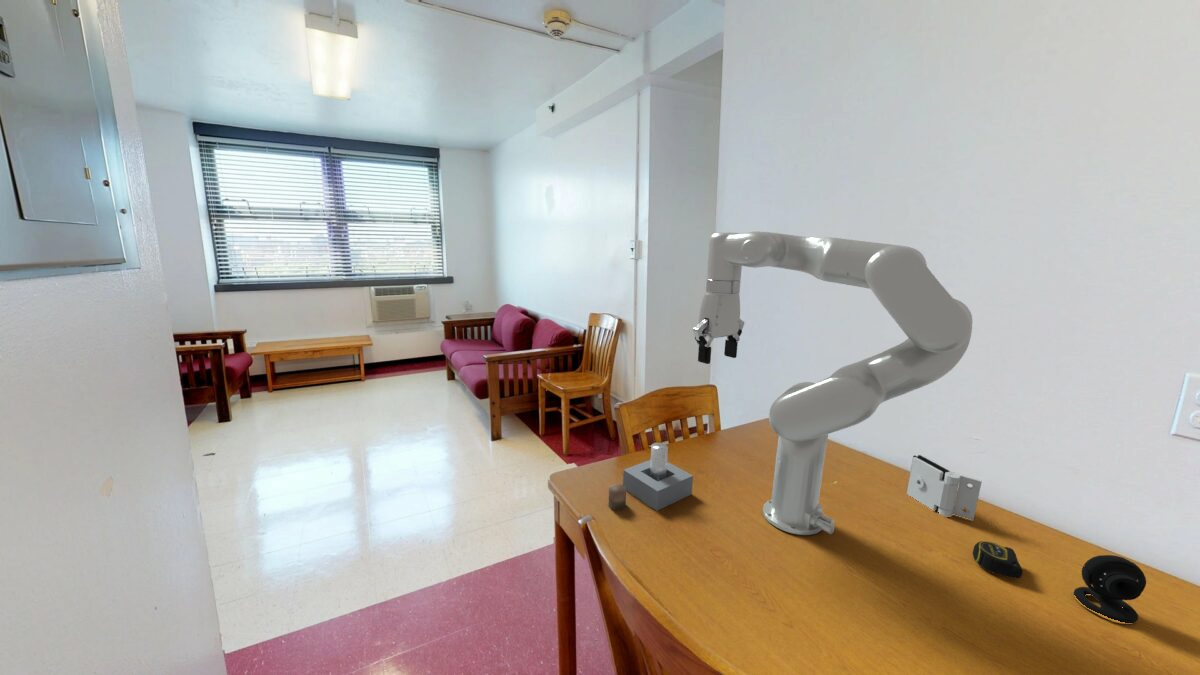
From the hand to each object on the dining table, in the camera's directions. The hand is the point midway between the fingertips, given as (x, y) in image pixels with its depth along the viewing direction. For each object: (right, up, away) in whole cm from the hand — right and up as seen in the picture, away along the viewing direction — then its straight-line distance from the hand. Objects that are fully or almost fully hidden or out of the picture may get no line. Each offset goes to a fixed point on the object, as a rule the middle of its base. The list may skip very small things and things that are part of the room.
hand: (717, 359), depth 107 cm
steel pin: (-14, -33, +5) cm, 36 cm away
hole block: (-14, -33, +5) cm, 36 cm away
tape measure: (+49, -40, -20) cm, 66 cm away
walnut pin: (-24, -34, -2) cm, 42 cm away
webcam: (+59, -42, -29) cm, 78 cm away
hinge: (+53, -35, 0) cm, 63 cm away
